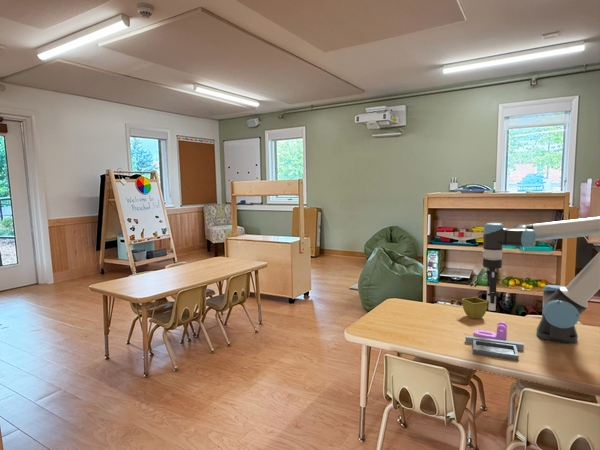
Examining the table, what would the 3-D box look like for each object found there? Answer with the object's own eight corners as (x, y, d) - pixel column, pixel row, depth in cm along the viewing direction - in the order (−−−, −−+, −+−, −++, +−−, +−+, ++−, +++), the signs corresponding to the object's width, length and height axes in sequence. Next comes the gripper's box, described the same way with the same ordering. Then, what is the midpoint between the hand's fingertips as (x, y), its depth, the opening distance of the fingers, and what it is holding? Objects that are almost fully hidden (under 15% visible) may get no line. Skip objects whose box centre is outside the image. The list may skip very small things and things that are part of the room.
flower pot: (461, 315, 198) (461, 298, 197) (474, 313, 200) (475, 296, 199) (473, 321, 190) (474, 303, 188) (487, 318, 192) (488, 301, 191)
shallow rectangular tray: (515, 349, 158) (515, 345, 157) (518, 360, 149) (518, 355, 148) (473, 344, 164) (473, 339, 164) (473, 354, 155) (473, 349, 155)
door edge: (523, 348, 159) (523, 343, 158) (523, 350, 157) (523, 344, 157) (465, 340, 167) (465, 335, 167) (465, 342, 166) (465, 337, 165)
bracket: (506, 337, 170) (507, 322, 170) (505, 342, 166) (506, 326, 165) (474, 332, 177) (475, 317, 176) (473, 336, 172) (473, 321, 171)
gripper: (481, 252, 180) (480, 296, 182) (484, 263, 157) (482, 313, 160) (499, 253, 177) (498, 297, 179) (504, 265, 154) (503, 315, 157)
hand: (490, 305), depth 169 cm, fingers open, 13 cm apart
